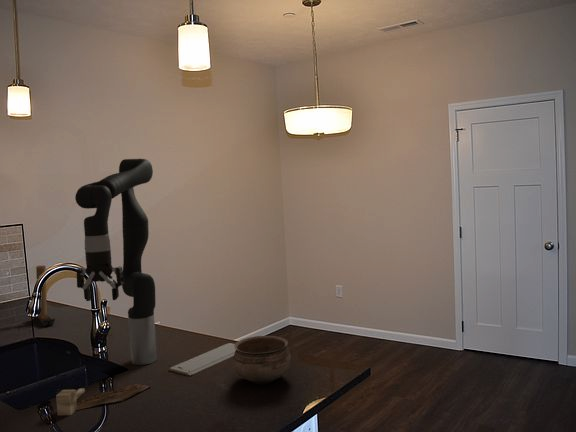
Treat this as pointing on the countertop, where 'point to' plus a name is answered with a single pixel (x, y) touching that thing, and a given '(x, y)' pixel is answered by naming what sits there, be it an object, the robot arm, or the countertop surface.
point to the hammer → (43, 303)
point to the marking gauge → (68, 401)
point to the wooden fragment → (111, 396)
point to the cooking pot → (261, 358)
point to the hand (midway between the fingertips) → (101, 300)
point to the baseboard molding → (205, 360)
